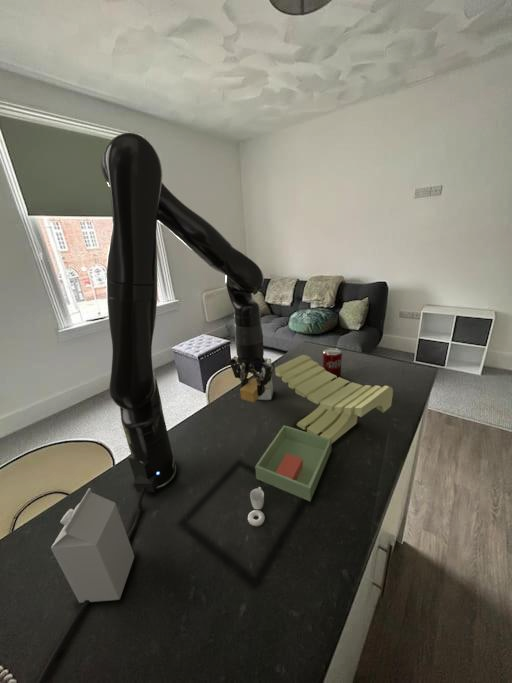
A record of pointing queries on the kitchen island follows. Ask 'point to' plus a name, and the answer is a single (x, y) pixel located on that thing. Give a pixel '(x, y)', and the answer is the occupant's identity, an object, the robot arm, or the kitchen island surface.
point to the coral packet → (290, 467)
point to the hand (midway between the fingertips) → (253, 392)
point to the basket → (298, 445)
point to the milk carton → (94, 549)
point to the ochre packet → (250, 391)
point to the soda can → (332, 361)
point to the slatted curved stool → (331, 397)
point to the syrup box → (267, 386)
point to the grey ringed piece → (256, 507)
